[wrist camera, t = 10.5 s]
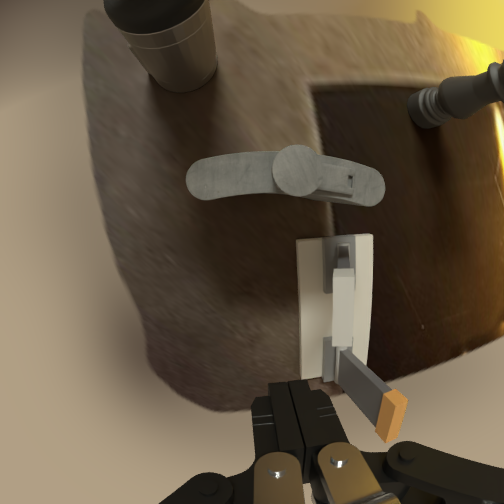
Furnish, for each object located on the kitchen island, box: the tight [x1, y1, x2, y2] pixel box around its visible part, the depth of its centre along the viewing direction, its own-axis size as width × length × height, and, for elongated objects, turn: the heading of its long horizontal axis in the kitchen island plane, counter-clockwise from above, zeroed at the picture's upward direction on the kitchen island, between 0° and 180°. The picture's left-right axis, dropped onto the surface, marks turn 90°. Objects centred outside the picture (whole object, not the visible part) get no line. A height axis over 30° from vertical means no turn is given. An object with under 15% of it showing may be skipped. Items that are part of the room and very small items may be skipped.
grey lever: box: [332, 242, 355, 347], centre depth 31 cm, size 2×6×16 cm, turn 5°
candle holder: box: [407, 60, 504, 129], centre depth 25 cm, size 6×6×25 cm
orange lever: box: [334, 346, 408, 443], centre depth 34 cm, size 2×6×16 cm, turn 4°
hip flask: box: [186, 144, 385, 206], centre depth 29 cm, size 16×4×20 cm, turn 89°
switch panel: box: [296, 234, 373, 382], centre depth 42 cm, size 11×23×3 cm, turn 5°
